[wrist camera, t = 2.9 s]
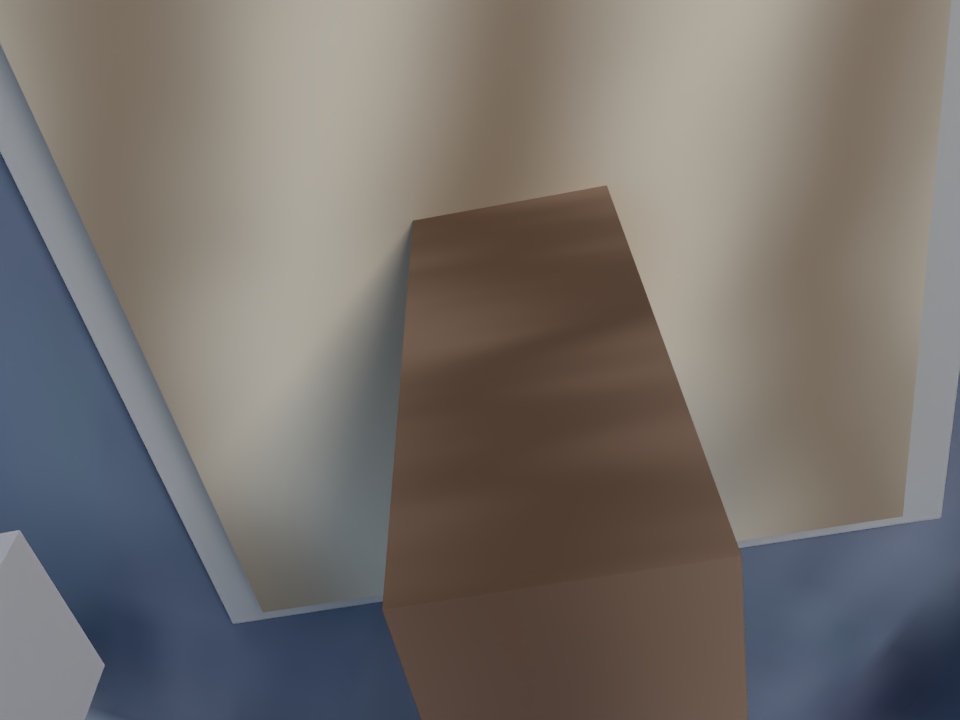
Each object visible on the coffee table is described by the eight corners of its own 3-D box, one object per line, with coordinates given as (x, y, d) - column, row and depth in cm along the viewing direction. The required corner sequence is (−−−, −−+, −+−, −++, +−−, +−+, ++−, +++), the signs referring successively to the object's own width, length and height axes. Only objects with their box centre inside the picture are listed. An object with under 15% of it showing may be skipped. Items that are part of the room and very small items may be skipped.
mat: (1039, -421, 13) (1059, -427, 13) (931, 504, 23) (940, 517, 23) (-134, -158, 15) (-151, -155, 14) (236, 609, 24) (232, 623, 24)
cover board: (938, -274, 14) (1744, -320, 5) (882, 481, 22) (1158, 946, 13) (-13, -69, 15) (-635, 169, 6) (271, 575, 23) (166, 1057, 14)
